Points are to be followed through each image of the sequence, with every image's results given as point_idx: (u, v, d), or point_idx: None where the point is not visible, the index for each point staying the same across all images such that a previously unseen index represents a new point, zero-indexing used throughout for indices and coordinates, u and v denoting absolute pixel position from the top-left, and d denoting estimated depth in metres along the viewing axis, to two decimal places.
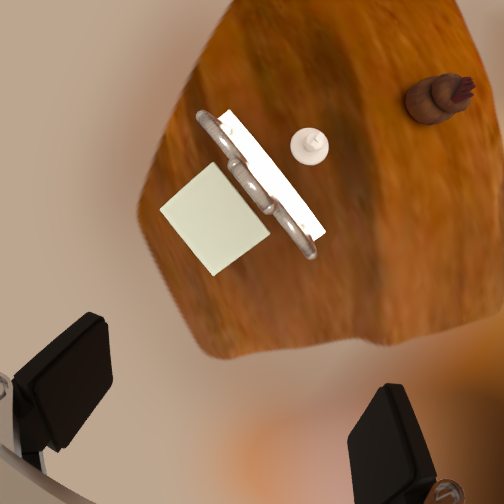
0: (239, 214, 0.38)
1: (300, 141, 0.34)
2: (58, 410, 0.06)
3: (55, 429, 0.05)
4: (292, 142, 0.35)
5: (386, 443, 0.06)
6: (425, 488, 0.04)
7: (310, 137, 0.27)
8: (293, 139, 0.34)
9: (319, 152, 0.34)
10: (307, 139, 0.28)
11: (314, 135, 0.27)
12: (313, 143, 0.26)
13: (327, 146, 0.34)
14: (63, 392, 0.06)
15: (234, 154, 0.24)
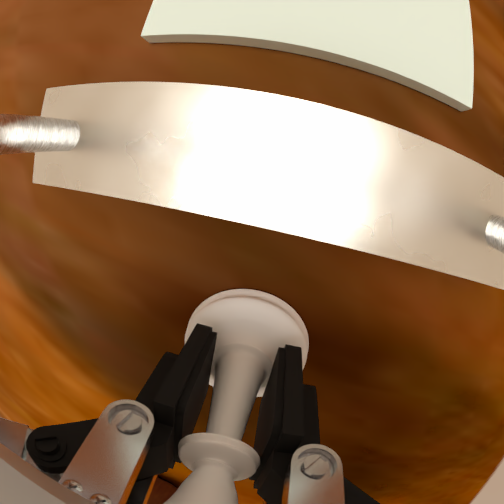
0: (272, 3, 0.07)
1: None
2: (187, 426, 0.07)
3: None
4: (297, 332, 0.10)
5: (271, 399, 0.07)
6: None
7: None
8: (300, 342, 0.10)
9: None
10: None
11: None
12: None
13: None
14: (192, 407, 0.07)
15: None
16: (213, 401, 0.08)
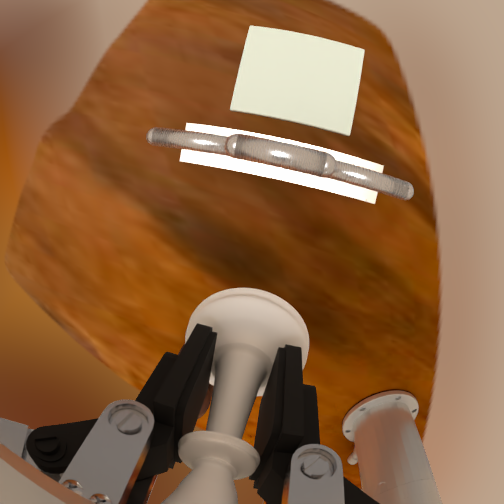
0: (277, 102, 0.26)
1: None
2: (187, 426, 0.07)
3: None
4: (297, 331, 0.10)
5: (271, 399, 0.07)
6: None
7: None
8: (301, 341, 0.10)
9: None
10: None
11: None
12: None
13: None
14: (192, 407, 0.07)
15: (335, 170, 0.16)
16: (213, 400, 0.08)
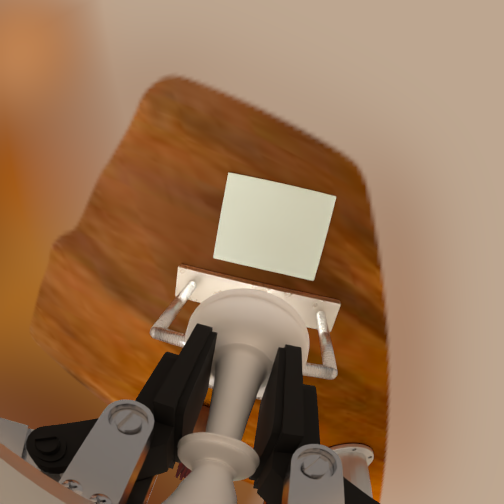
0: (253, 253, 0.33)
1: None
2: (187, 426, 0.07)
3: None
4: (297, 332, 0.10)
5: (271, 399, 0.07)
6: None
7: None
8: (301, 341, 0.10)
9: None
10: None
11: None
12: None
13: None
14: (192, 407, 0.07)
15: None
16: (213, 401, 0.08)
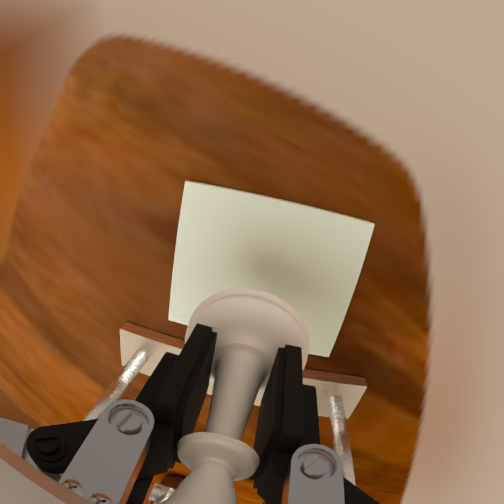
0: None
1: None
2: (187, 426, 0.07)
3: None
4: (297, 332, 0.10)
5: (271, 399, 0.07)
6: None
7: None
8: (301, 341, 0.10)
9: None
10: None
11: None
12: None
13: None
14: (192, 407, 0.07)
15: None
16: (213, 401, 0.08)
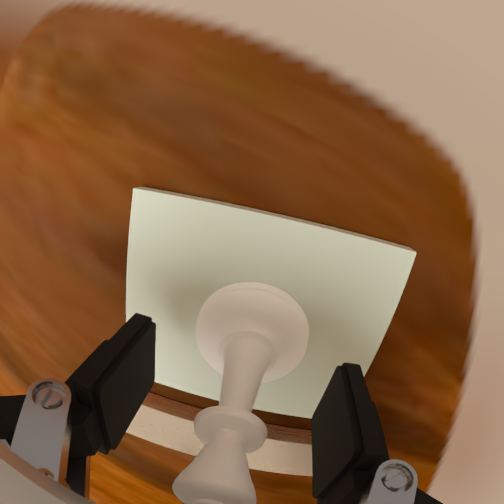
0: (206, 376, 0.14)
1: (280, 341, 0.11)
2: (113, 412, 0.06)
3: (108, 431, 0.06)
4: (298, 320, 0.11)
5: (338, 420, 0.07)
6: (376, 468, 0.05)
7: None
8: (301, 329, 0.11)
9: (215, 347, 0.12)
10: (240, 499, 0.05)
11: None
12: None
13: (213, 366, 0.12)
14: (119, 393, 0.07)
15: None
16: (224, 381, 0.09)
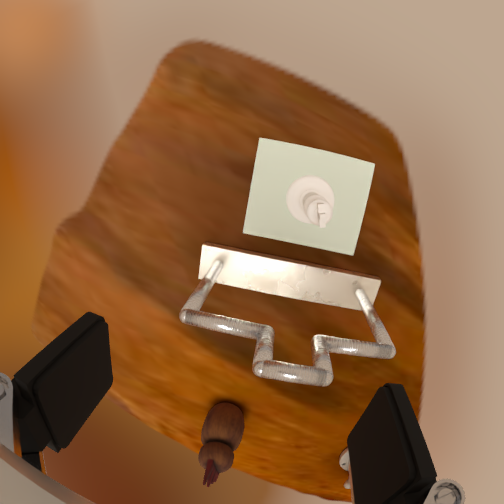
0: (287, 226, 0.30)
1: (324, 196, 0.27)
2: (58, 410, 0.06)
3: (55, 429, 0.05)
4: (330, 188, 0.28)
5: (386, 443, 0.06)
6: (425, 488, 0.04)
7: (327, 211, 0.21)
8: (331, 192, 0.28)
9: (296, 201, 0.28)
10: (329, 206, 0.21)
11: (325, 217, 0.21)
12: (321, 207, 0.20)
13: (294, 214, 0.29)
14: (63, 392, 0.06)
15: (334, 349, 0.20)
16: None
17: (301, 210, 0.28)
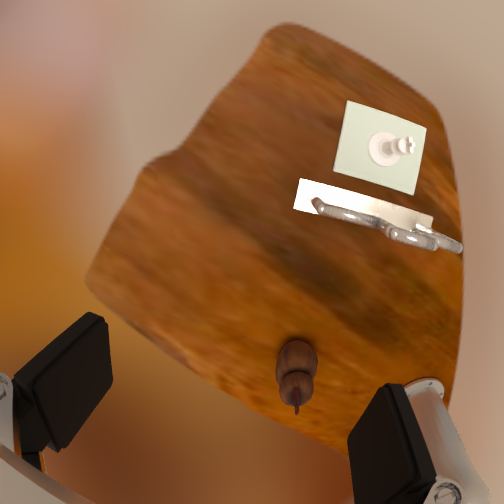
0: (367, 168, 0.35)
1: None
2: (58, 410, 0.06)
3: (55, 429, 0.05)
4: None
5: (386, 443, 0.06)
6: (425, 488, 0.04)
7: None
8: None
9: (376, 148, 0.33)
10: None
11: None
12: (411, 139, 0.25)
13: (373, 158, 0.34)
14: (63, 392, 0.06)
15: None
16: (389, 144, 0.31)
17: (379, 155, 0.33)
